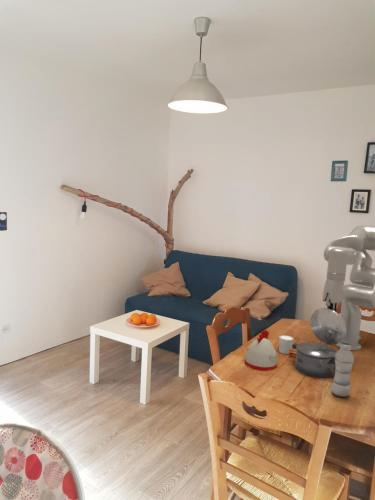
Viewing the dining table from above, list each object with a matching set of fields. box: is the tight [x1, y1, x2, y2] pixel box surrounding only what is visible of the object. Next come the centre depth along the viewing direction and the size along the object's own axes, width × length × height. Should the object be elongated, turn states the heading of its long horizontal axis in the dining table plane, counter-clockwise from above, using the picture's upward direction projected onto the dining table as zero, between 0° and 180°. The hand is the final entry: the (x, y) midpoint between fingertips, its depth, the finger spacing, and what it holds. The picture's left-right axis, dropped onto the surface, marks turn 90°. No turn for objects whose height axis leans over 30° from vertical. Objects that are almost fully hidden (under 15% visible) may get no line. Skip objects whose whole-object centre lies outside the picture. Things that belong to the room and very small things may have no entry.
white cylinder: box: [278, 334, 295, 355], centre depth 182 cm, size 7×7×7 cm
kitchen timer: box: [244, 329, 278, 372], centre depth 167 cm, size 14×14×15 cm
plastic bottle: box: [330, 342, 355, 398], centre depth 142 cm, size 6×7×20 cm
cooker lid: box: [309, 307, 346, 346], centre depth 168 cm, size 16×16×3 cm
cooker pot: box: [292, 341, 338, 379], centre depth 163 cm, size 17×25×9 cm, turn 41°
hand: (331, 317), depth 169 cm, fingers closed
